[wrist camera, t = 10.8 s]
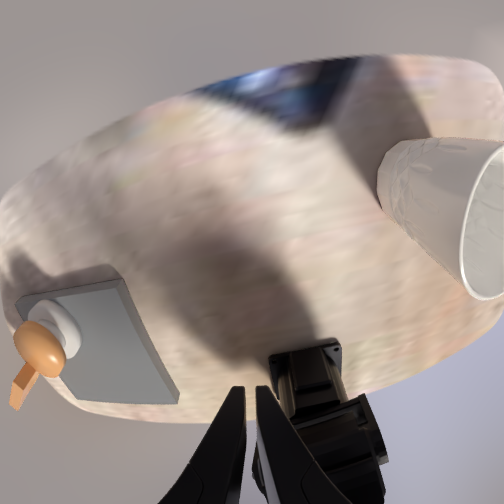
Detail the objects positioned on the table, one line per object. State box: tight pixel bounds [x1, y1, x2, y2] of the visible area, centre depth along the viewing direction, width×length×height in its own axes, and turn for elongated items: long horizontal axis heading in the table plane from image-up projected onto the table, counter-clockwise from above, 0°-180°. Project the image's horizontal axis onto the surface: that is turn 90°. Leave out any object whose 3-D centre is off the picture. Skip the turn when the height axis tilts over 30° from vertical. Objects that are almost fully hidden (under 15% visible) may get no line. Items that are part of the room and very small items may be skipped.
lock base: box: [15, 278, 180, 404], centre depth 21 cm, size 14×14×4 cm
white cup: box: [376, 137, 504, 300], centre depth 13 cm, size 8×8×10 cm
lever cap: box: [9, 320, 67, 411], centre depth 17 cm, size 12×5×5 cm, turn 136°
